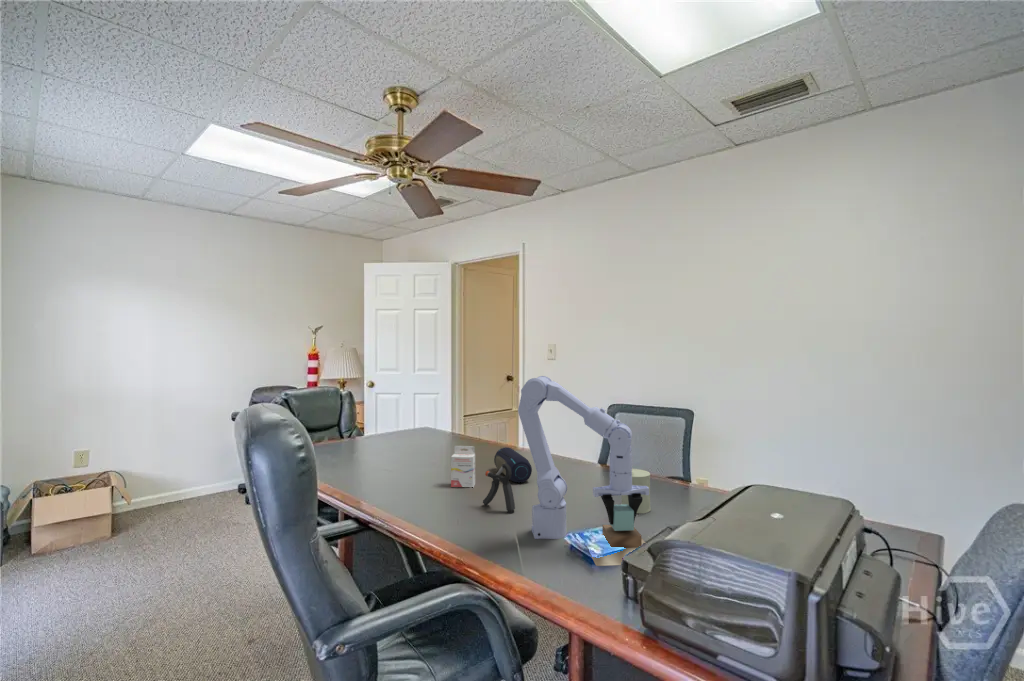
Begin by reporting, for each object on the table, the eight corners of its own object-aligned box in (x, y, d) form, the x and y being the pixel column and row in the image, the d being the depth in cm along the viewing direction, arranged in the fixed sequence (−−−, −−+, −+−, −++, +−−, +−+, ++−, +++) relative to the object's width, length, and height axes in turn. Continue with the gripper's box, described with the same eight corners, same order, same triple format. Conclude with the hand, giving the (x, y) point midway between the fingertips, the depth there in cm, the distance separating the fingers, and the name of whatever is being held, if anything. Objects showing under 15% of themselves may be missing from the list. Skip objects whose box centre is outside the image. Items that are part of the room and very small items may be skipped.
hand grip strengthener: (486, 504, 159) (486, 459, 160) (515, 512, 151) (515, 464, 152) (481, 505, 158) (481, 460, 158) (511, 514, 150) (510, 466, 150)
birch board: (596, 570, 112) (596, 565, 112) (579, 539, 130) (579, 535, 130) (662, 567, 113) (662, 563, 113) (637, 536, 131) (637, 533, 131)
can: (615, 508, 154) (615, 471, 154) (631, 502, 160) (630, 466, 160) (641, 515, 147) (640, 476, 147) (656, 508, 154) (655, 471, 154)
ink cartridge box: (450, 488, 178) (450, 448, 178) (453, 484, 182) (453, 445, 183) (473, 488, 177) (473, 448, 177) (475, 484, 182) (475, 445, 182)
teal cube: (614, 530, 123) (614, 511, 123) (609, 523, 128) (609, 504, 128) (633, 530, 123) (633, 510, 124) (628, 523, 128) (627, 504, 128)
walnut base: (610, 548, 122) (610, 536, 122) (602, 536, 130) (602, 524, 130) (641, 547, 122) (641, 535, 122) (631, 534, 130) (631, 523, 130)
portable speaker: (491, 470, 203) (491, 446, 203) (514, 467, 206) (514, 444, 206) (509, 486, 179) (509, 459, 179) (534, 484, 182) (534, 457, 182)
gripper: (597, 475, 122) (597, 529, 121) (653, 474, 123) (653, 527, 122) (590, 468, 129) (591, 519, 128) (643, 467, 130) (644, 517, 130)
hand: (621, 522), depth 126 cm, fingers closed on teal cube, 5 cm apart
